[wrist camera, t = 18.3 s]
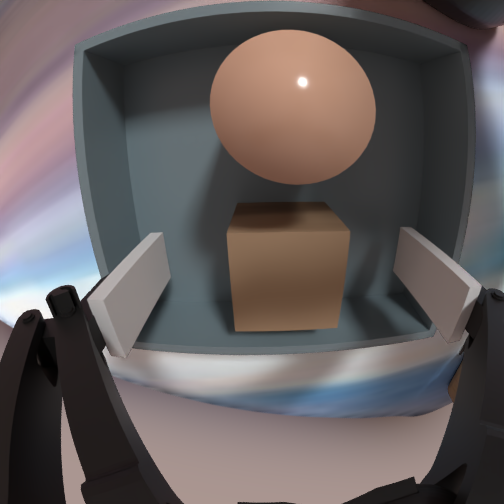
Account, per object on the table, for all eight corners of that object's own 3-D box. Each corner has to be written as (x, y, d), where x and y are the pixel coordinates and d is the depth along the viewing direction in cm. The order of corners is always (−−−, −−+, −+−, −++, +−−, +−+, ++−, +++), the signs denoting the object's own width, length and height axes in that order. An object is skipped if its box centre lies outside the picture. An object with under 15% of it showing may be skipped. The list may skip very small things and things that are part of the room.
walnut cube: (237, 203, 15) (226, 233, 11) (324, 201, 15) (350, 231, 11) (241, 280, 17) (235, 331, 13) (319, 278, 17) (337, 327, 13)
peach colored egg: (232, 77, 12) (208, 33, 6) (324, 78, 12) (370, 39, 6) (235, 163, 14) (214, 186, 8) (325, 163, 14) (374, 187, 8)
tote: (120, 61, 12) (75, 44, 8) (421, 59, 11) (466, 45, 7) (151, 302, 19) (126, 347, 15) (404, 295, 18) (433, 336, 14)
